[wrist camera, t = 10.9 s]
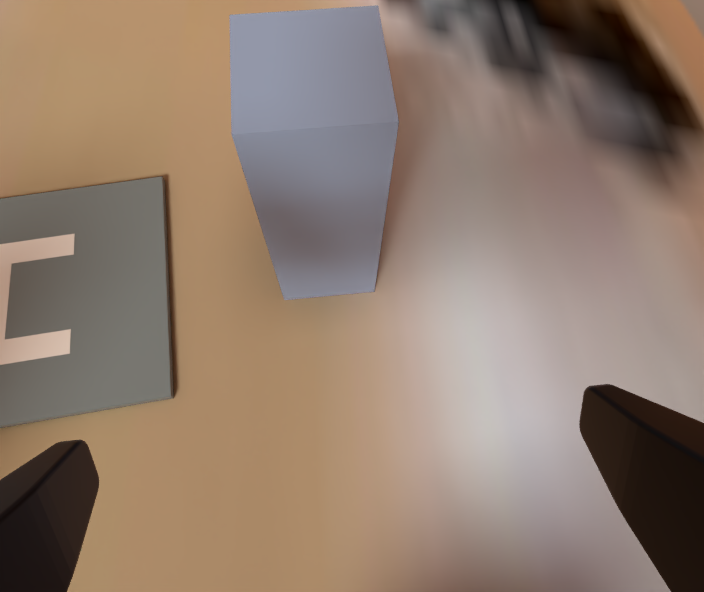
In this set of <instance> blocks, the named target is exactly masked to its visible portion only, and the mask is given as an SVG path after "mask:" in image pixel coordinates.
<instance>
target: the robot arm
mask: <svg viewBox="0 0 704 592" xmlns="http://www.w3.org/2000/svg"><path fill="white" fill-rule="evenodd" d="M580 431H581V434H582V437H583V439H584V441H585V443H586V445H587V447H588V449H589V451H590V453H591V455H592V457H593V459H594V461H595V463H596V465H597V467H598V469H599V471H600V473H601V475H602V477H603V479H604V481H605V483H606V485H607V487H608V489H609V491H610V493H611V495H612V497H613V499H614V500H615V502H616V504H617V506H618V508H619V510H620V511H621V513H622V515H623V516H624V518H625V520H626V521H627V523H628V525H629V526H630V528H631V529H632V531H633V532H634V534H635V536H636V537H637V539H638V540H639V542H640V543H641V545H642V547H643V548H644V550H645V551H646V553H647V554H648V556H649V558H650V559H651V561H652V562H653V564H654V565H655V567H656V569H657V570H658V572H659V573H660V575H661V576H662V578H663V580H664V581H665V583H666V584H667V586H668V587H669V589H670V591H671V592H704V423H702V422H700V421H697V420H695V419H693V418H690V417H688V416H685V415H683V414H681V413H678V412H676V411H673V410H671V409H669V408H666V407H664V406H661V405H659V404H657V403H654V402H652V401H649V400H647V399H645V398H642V397H640V396H637V395H635V394H633V393H630V392H628V391H625V390H623V389H620V388H618V387H616V386H613V385H610V384H604V385H594V386H589V387H587V388H586V389H585V391H584V395H583V402H582V409H581V416H580ZM98 488H99V477H98V473H97V470H96V467H95V464H94V461H93V459H92V456H91V453H90V450H89V447H88V445H87V444H86V442H85V441H82V440H72V441H63V442H58V443H56V444H54V445H53V446H51V447H50V448H48V449H47V450H45V451H44V452H42V453H41V454H39V455H38V456H36V457H35V458H33V459H32V460H30V461H29V462H27V463H26V464H24V465H22V466H21V467H19V468H18V469H16V470H15V471H13V472H12V473H10V474H9V475H7V476H6V477H4V478H3V479H1V480H0V592H67V590H68V587H69V585H70V582H71V579H72V577H73V574H74V571H75V567H76V564H77V561H78V558H79V554H80V551H81V547H82V544H83V541H84V537H85V534H86V530H87V527H88V523H89V520H90V516H91V513H92V509H93V506H94V503H95V499H96V496H97V492H98Z"/></svg>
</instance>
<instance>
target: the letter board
mask: <svg viewBox="0 0 704 592" xmlns="http://www.w3.org/2000/svg"><path fill="white" fill-rule="evenodd" d="M171 398H174V393H173V369H172V345H171V320H170V296H169V272H168V248H167V224H166V200H165V180H164V179H163V177H154V178H147V179H140V180H133V181H125V182H118V183H111V184H104V185H96V186H89V187H82V188H74V189H67V190H60V191H53V192H45V193H38V194H31V195H23V196H16V197H9V198H2V199H0V428H3V427H9V426H15V425H21V424H26V423H32V422H38V421H44V420H50V419H55V418H61V417H67V416H73V415H79V414H84V413H90V412H96V411H102V410H108V409H113V408H119V407H125V406H131V405H136V404H142V403H148V402H154V401H160V400H165V399H171Z"/></svg>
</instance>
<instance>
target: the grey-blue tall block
mask: <svg viewBox="0 0 704 592" xmlns="http://www.w3.org/2000/svg"><path fill="white" fill-rule="evenodd" d="M230 67H231V127H232V137H233V140H234V143H235V147H236V150H237V153H238V156H239V159H240V162H241V165H242V169H243V172H244V175H245V178H246V181H247V184H248V187H249V191H250V194H251V197H252V200H253V203H254V206H255V209H256V212H257V216H258V219H259V222H260V225H261V228H262V231H263V234H264V238H265V241H266V244H267V247H268V250H269V253H270V256H271V260H272V263H273V266H274V269H275V272H276V275H277V278H278V282H279V285H280V288H281V291H282V294H283V297H284V300H290V299H301V298H311V297H322V296H333V295H343V294H354V293H365V292H374V291H375V284H376V277H377V270H378V263H379V257H380V250H381V243H382V236H383V229H384V222H385V215H386V208H387V201H388V194H389V187H390V180H391V173H392V166H393V159H394V152H395V145H396V138H397V131H398V124H399V120H398V114H397V108H396V103H395V97H394V92H393V86H392V81H391V75H390V69H389V64H388V58H387V53H386V47H385V42H384V36H383V30H382V25H381V19H380V14H379V8H378V6H363V7H347V8H331V9H315V10H300V11H284V12H268V13H252V14H237V15H230Z"/></svg>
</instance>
